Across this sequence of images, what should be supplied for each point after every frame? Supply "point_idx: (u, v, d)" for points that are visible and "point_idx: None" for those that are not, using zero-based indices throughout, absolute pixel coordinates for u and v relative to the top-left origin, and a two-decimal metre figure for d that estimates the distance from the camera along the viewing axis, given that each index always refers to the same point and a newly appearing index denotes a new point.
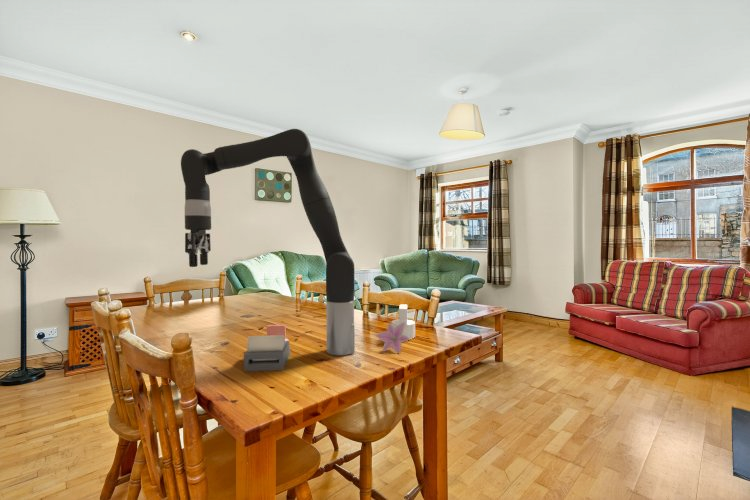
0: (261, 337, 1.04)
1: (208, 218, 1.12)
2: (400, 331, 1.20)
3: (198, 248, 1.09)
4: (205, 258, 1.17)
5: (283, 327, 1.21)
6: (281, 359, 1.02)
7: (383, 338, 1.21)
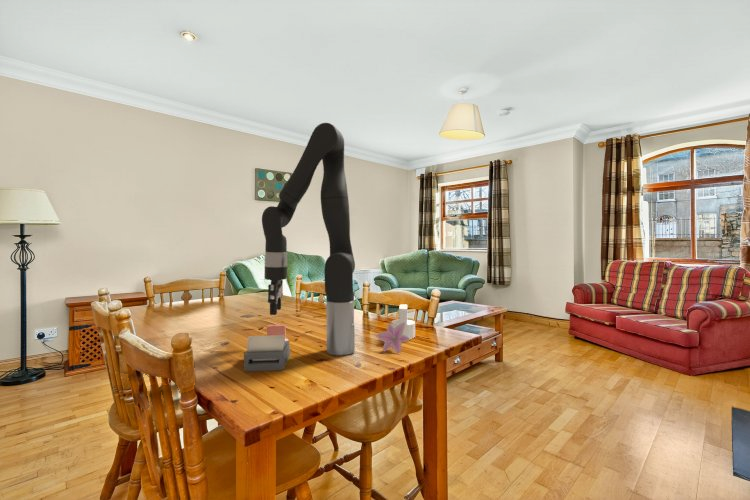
0: (261, 337, 1.04)
1: (286, 269, 1.21)
2: (400, 331, 1.20)
3: (277, 297, 1.18)
4: (279, 303, 1.26)
5: (283, 327, 1.21)
6: (281, 359, 1.02)
7: (383, 338, 1.20)
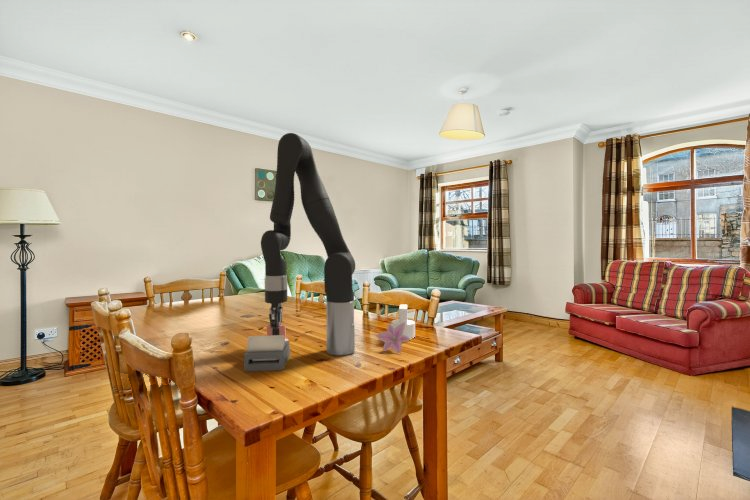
0: (261, 337, 1.04)
1: (286, 291, 1.21)
2: (400, 331, 1.20)
3: (279, 321, 1.21)
4: None
5: (283, 327, 1.21)
6: (281, 359, 1.02)
7: (383, 339, 1.20)
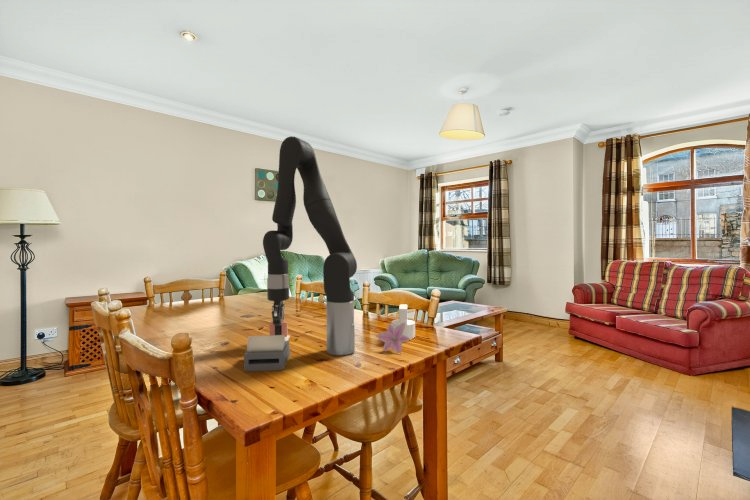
0: (261, 337, 1.04)
1: (288, 289, 1.25)
2: (400, 331, 1.20)
3: (281, 318, 1.25)
4: None
5: (285, 324, 1.26)
6: (281, 359, 1.02)
7: (383, 339, 1.20)
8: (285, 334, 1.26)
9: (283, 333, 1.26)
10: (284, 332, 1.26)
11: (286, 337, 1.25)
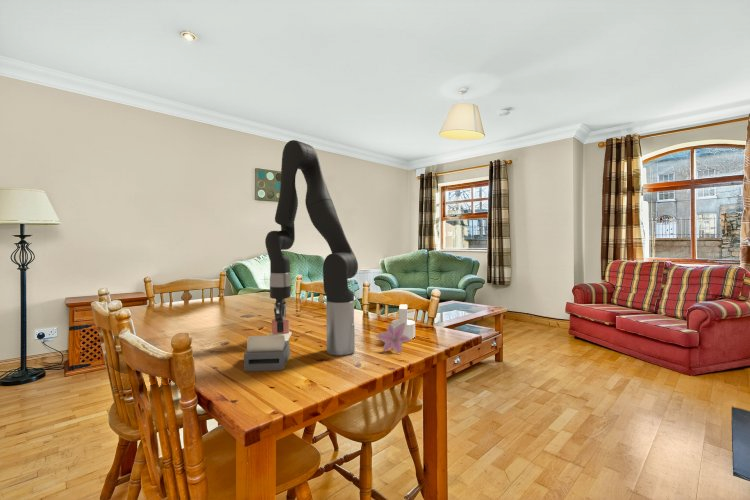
0: (261, 337, 1.04)
1: (289, 288, 1.30)
2: (400, 331, 1.20)
3: (283, 315, 1.30)
4: None
5: (287, 321, 1.30)
6: (281, 359, 1.02)
7: (383, 339, 1.20)
8: (287, 331, 1.30)
9: (285, 330, 1.30)
10: (286, 329, 1.30)
11: (288, 334, 1.29)
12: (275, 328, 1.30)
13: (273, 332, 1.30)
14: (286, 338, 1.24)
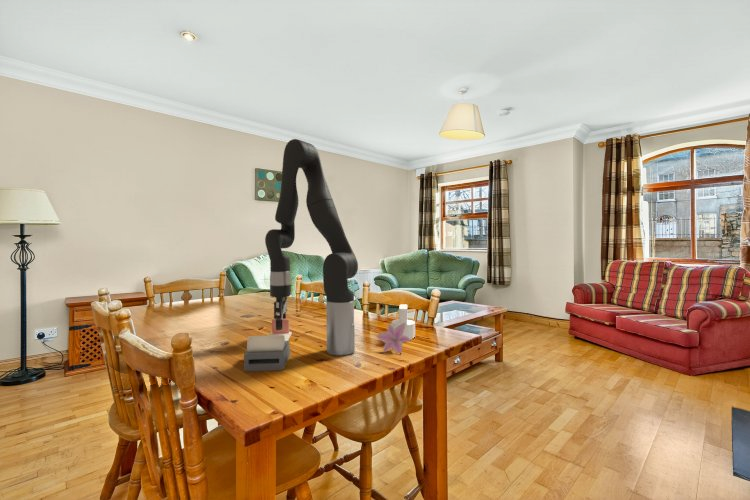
0: (261, 337, 1.04)
1: (289, 286, 1.30)
2: (401, 332, 1.19)
3: (282, 313, 1.27)
4: (284, 318, 1.35)
5: (287, 321, 1.30)
6: (281, 359, 1.02)
7: (383, 339, 1.20)
8: (287, 331, 1.30)
9: (285, 330, 1.30)
10: (286, 329, 1.30)
11: (288, 333, 1.29)
12: (275, 328, 1.30)
13: (273, 332, 1.30)
14: (286, 338, 1.24)
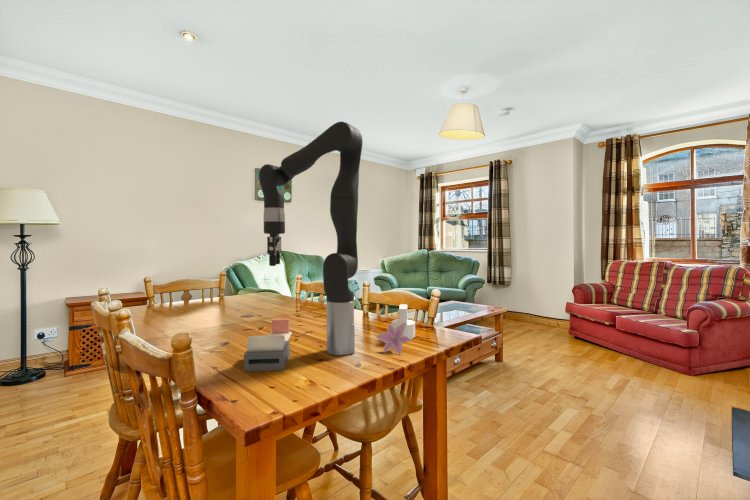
0: (261, 337, 1.04)
1: (283, 223, 1.28)
2: (401, 332, 1.19)
3: (276, 250, 1.26)
4: (278, 258, 1.33)
5: (287, 321, 1.30)
6: (281, 359, 1.02)
7: (383, 339, 1.20)
8: (287, 331, 1.30)
9: (285, 330, 1.30)
10: (286, 329, 1.30)
11: (288, 333, 1.29)
12: (275, 328, 1.30)
13: (273, 332, 1.30)
14: (286, 338, 1.24)
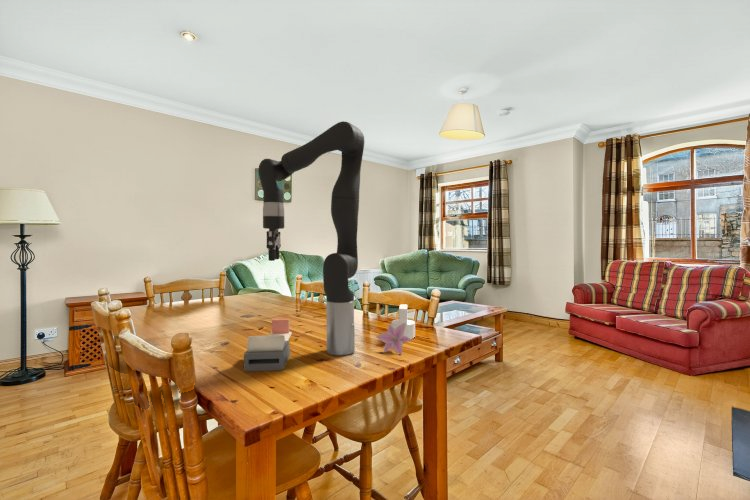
0: (261, 337, 1.04)
1: (283, 218, 1.28)
2: (401, 332, 1.19)
3: (275, 244, 1.25)
4: (277, 253, 1.33)
5: (287, 321, 1.30)
6: (281, 359, 1.02)
7: (384, 339, 1.19)
8: (287, 331, 1.30)
9: (285, 330, 1.30)
10: (286, 329, 1.30)
11: (288, 333, 1.29)
12: (275, 328, 1.30)
13: (273, 332, 1.30)
14: (286, 338, 1.24)
